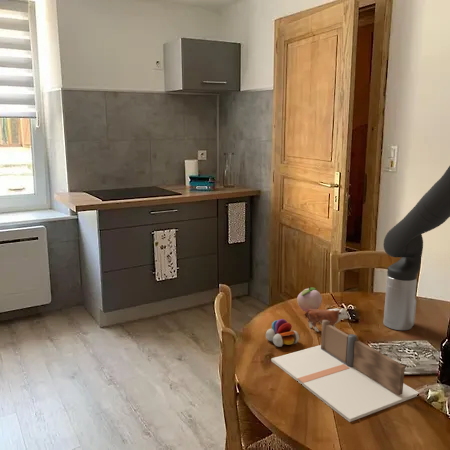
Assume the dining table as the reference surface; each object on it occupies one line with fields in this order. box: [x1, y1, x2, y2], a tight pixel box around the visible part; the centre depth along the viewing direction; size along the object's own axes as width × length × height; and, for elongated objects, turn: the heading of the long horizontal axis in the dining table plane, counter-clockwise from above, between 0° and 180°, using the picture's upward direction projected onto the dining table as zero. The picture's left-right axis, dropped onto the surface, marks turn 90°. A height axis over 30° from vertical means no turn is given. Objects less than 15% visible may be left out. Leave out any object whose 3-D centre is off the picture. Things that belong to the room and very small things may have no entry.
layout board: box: [270, 320, 420, 423], centre depth 127 cm, size 23×32×10 cm
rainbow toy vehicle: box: [265, 318, 300, 348], centre depth 147 cm, size 8×10×7 cm
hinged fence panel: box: [353, 339, 406, 395], centre depth 123 cm, size 16×1×8 cm, turn 28°
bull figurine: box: [306, 307, 349, 333], centre depth 155 cm, size 4×13×8 cm, turn 78°
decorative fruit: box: [296, 286, 323, 313], centre depth 169 cm, size 9×8×10 cm
